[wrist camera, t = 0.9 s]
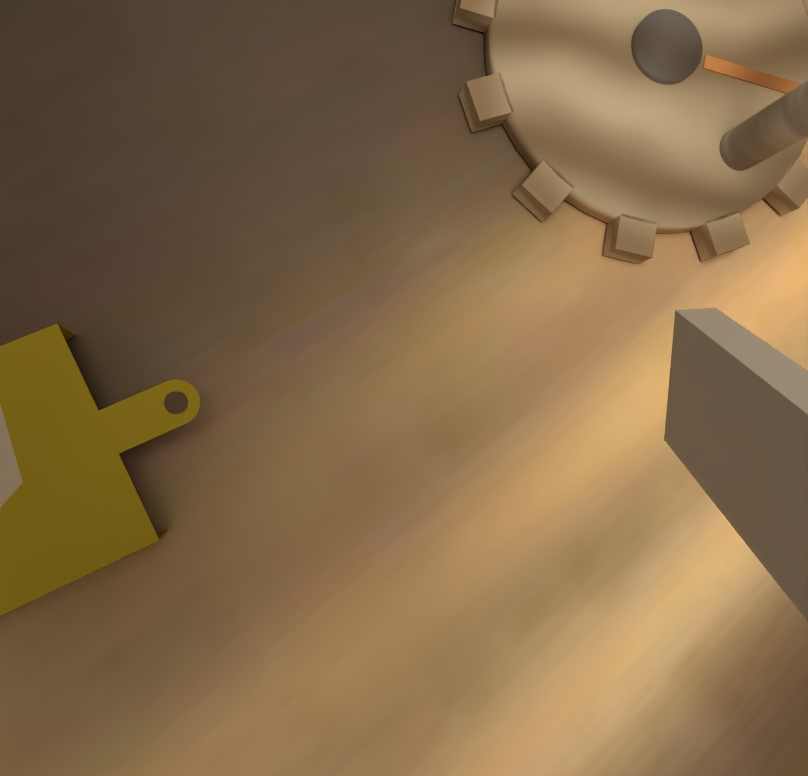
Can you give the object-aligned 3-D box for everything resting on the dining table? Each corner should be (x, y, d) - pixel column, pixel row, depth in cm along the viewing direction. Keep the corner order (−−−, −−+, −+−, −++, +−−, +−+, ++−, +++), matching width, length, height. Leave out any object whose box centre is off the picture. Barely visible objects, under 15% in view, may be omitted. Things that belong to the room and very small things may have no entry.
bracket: (273, 562, 30) (-111, 754, 27) (268, 537, 38) (-31, 684, 35) (108, 210, 30) (-300, 363, 27) (137, 256, 37) (-178, 379, 34)
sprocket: (437, -147, 41) (507, -366, 30) (802, -117, 46) (981, -297, 35) (473, 270, 40) (560, 204, 29) (845, 256, 45) (1044, 194, 34)
